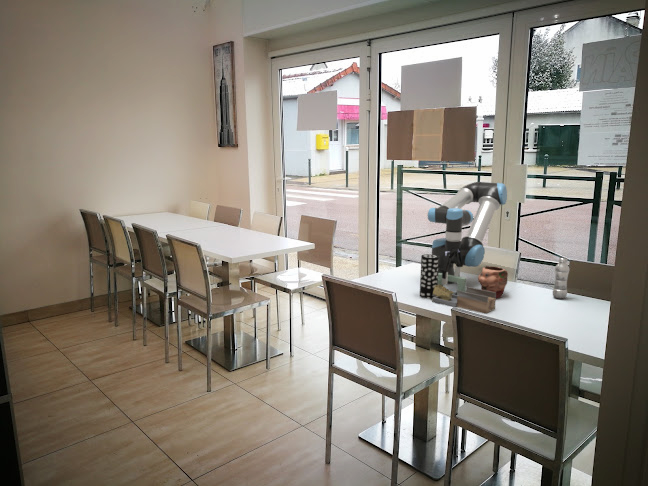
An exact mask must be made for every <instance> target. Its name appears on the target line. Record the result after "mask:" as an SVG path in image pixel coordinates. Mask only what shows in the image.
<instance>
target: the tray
mask: <svg viewBox="0 0 648 486" xmlns="http://www.w3.org/2000/svg"><path fill="white" fill-rule="evenodd" d="M431 301H432V303H435V304H440V305H443V306H449V307H452V308H458V307H457V294H455V293H453V295H452V298H451V300H449V301H447V300H443V299H441V298H440V297H438V296H435V297H433V298H432V299H431Z"/></svg>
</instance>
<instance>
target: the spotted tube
mask: <svg viewBox="0 0 648 486" xmlns="http://www.w3.org/2000/svg"><path fill="white" fill-rule="evenodd" d="M420 257H421V259H420V276H419V277H420V282H419V297H421V298H423V299H429V300H430V299H431V300H432V298H433V297H435V296H437V295H435V294H433V291H434V288H435V286H436V285H438V267H439V256H437V255H432V253H431V254H427V253H426V254H425V253H424V254H422V255H421V256H420Z"/></svg>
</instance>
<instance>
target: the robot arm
mask: <svg viewBox="0 0 648 486" xmlns="http://www.w3.org/2000/svg"><path fill="white" fill-rule="evenodd" d="M507 200H508V190H507V186H506V184H504V183H502V182H485V181H475V182H471V183H468V184H466V185H464V186H462V187H461V188H459V190H457V193H456V194H454V196H451V197H450V198H449V199H448V200H447V201H445V202H444V203H442V204H441V205H440V206H439V207H430V208H429V210H428V211H427V220H428V221H429V222H430V223H435V224H443V225H444V224H445V226H446V227H445V237H442V238H435V239H434V240H433V241H432V244H431V246H432V247H431V254H432V255H437V256H439V267H438V273H442V285H444V286H448V285H450V284H451V285H452V284H455V282H450V281H448V275H453V276H458V277H461V268H463V267H464V266H465V267H469V268H470V267H472V268H474V267H475V268H476V267H478V266H480V264H481V263H483V260H484V258H485V255H486V254H485V252H486V251H485V246H484V244H483V240H484V238H485V235H486V233H487V230H488V228H489V226H490V224H491V221H492V218H493V216H494V214H495V211H497V210H498V209H500V207H501V206H504V205H506V204H507ZM470 203H478V207H477V211H476V213H475V215H473V213H472V211H470V210H469V209H462V208H463V207H464V206H466V205H469V204H470ZM468 225H470V227H469V229H468V232H467V234H466V236H463V237H462V229H463V226H468ZM454 265H455V266H454Z"/></svg>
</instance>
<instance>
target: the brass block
mask: <svg viewBox="0 0 648 486" xmlns="http://www.w3.org/2000/svg"><path fill="white" fill-rule="evenodd" d="M453 294H454V291H452V290H450V289H448V288H446V289H444V290H442V293H441V296H440V298H441V299H443V300H447V301H449V300H451V298H452V295H453Z"/></svg>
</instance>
